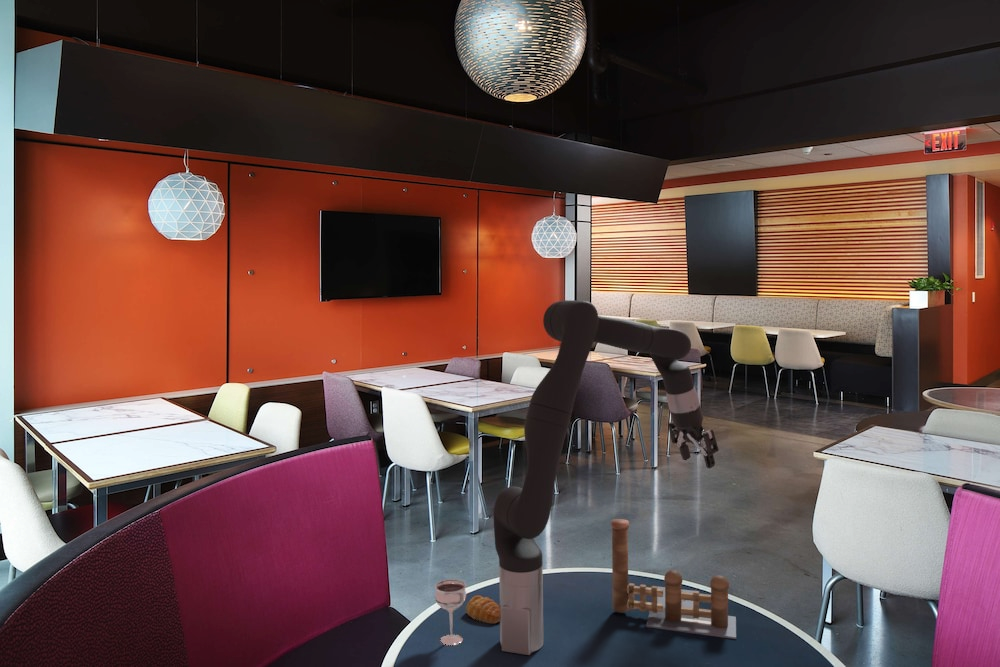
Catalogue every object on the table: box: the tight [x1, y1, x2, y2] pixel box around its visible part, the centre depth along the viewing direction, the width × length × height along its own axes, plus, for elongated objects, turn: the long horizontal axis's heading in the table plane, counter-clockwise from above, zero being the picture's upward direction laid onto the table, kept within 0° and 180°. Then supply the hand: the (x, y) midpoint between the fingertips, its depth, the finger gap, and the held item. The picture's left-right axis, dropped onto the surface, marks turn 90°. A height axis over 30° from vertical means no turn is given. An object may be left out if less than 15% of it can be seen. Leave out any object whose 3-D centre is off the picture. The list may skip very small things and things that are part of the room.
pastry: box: [465, 594, 500, 624], centre depth 161 cm, size 9×7×4 cm
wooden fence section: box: [610, 518, 663, 613], centre depth 159 cm, size 12×4×21 cm, turn 72°
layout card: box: [645, 585, 737, 640], centre depth 162 cm, size 22×19×1 cm
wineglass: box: [434, 578, 467, 647], centre depth 150 cm, size 7×7×12 cm
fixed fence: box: [663, 569, 730, 628], centre depth 156 cm, size 4×14×12 cm, turn 71°
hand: (698, 462), depth 176 cm, fingers open, 8 cm apart
